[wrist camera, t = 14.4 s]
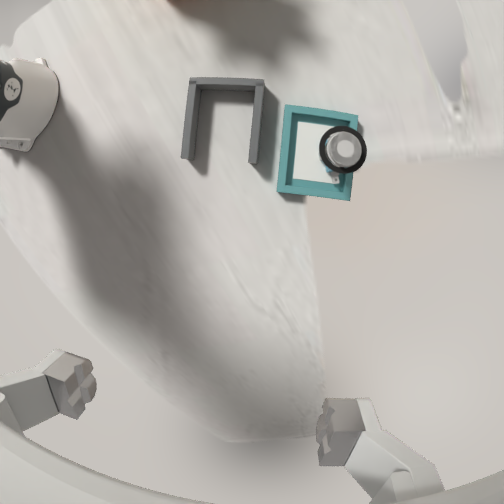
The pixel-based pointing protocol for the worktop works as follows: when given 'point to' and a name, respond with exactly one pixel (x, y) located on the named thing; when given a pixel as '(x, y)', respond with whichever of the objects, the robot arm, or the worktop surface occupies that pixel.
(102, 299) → the worktop surface
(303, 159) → the teal picture frame
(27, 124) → the robot arm
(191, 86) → the grey u-shaped bracket
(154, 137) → the worktop surface
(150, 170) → the worktop surface
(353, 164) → the push button
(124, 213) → the worktop surface
